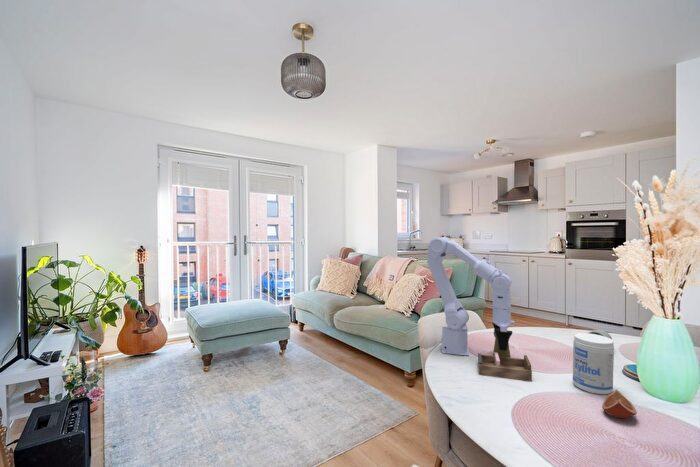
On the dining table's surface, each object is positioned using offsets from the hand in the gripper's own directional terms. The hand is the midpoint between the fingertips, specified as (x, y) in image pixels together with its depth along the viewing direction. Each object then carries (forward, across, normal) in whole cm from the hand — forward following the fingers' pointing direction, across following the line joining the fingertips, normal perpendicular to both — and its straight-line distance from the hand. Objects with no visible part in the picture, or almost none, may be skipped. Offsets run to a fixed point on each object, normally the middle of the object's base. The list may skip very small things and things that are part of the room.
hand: (501, 346), depth 118 cm
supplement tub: (+5, -14, -23) cm, 27 cm away
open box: (+5, -10, +1) cm, 11 cm away
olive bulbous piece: (+5, 0, 0) cm, 5 cm away
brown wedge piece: (+5, -29, -24) cm, 38 cm away
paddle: (+4, -10, +2) cm, 11 cm away
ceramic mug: (+5, +23, -35) cm, 42 cm away
